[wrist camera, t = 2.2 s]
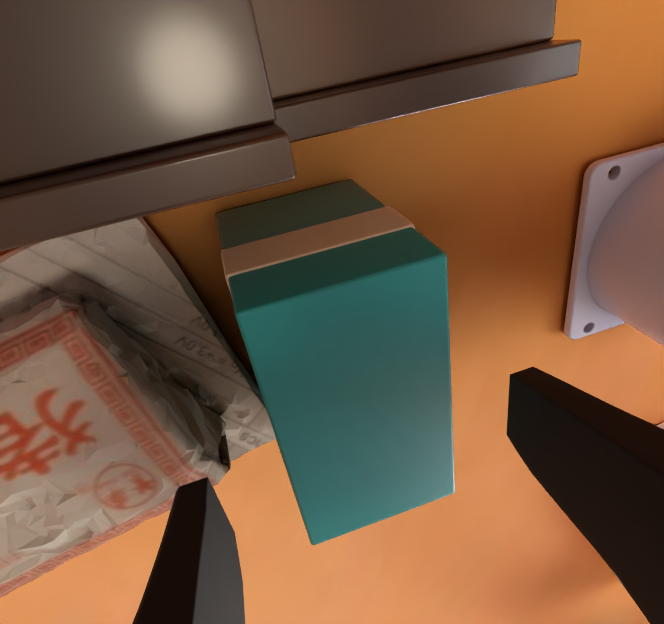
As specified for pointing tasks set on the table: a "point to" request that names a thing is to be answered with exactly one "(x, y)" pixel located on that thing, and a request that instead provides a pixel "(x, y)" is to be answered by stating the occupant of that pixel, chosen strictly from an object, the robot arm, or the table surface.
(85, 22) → the step shelf
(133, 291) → the packaged product
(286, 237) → the block
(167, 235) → the table surface
